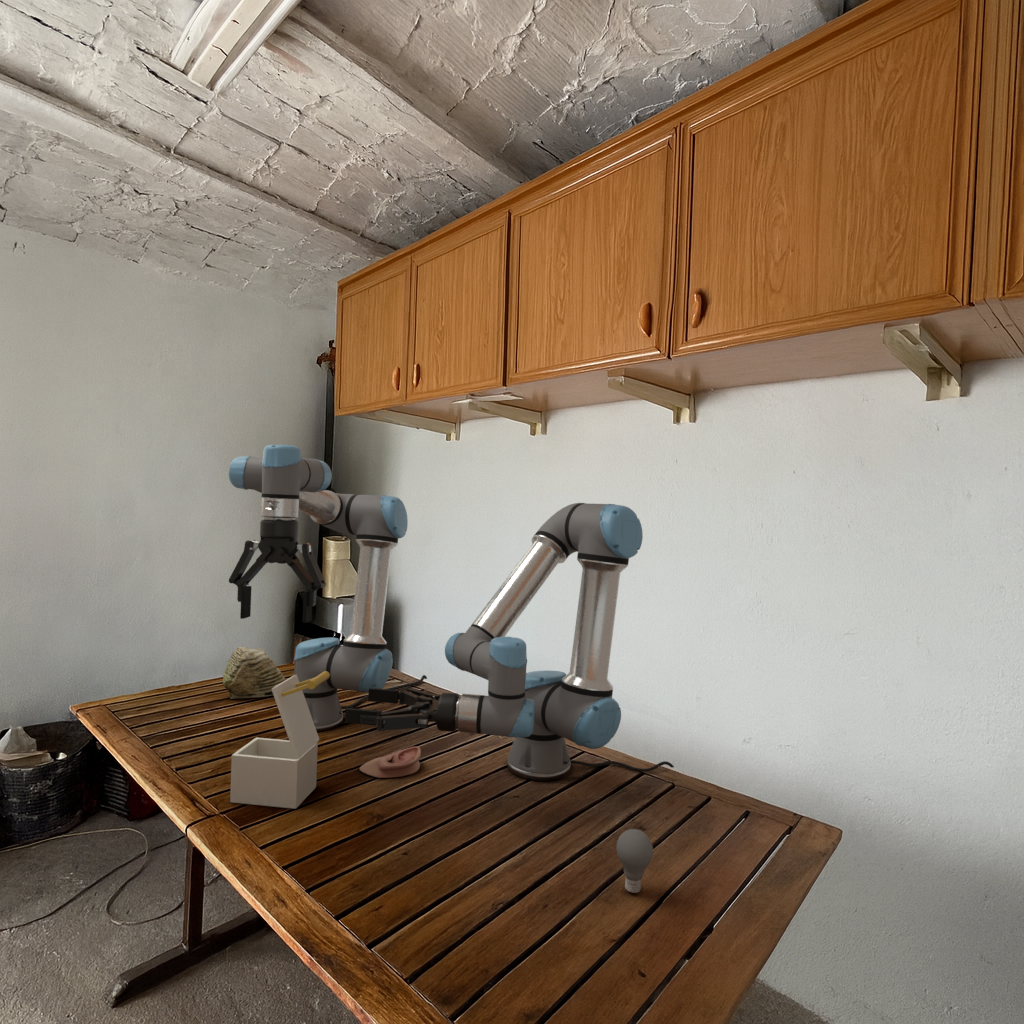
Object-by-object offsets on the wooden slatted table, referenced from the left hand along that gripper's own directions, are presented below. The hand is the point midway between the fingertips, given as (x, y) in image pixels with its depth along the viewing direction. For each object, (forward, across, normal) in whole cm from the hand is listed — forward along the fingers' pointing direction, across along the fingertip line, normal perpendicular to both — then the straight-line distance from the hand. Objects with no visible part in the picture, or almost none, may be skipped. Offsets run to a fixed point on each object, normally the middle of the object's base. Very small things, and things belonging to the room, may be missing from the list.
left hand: (275, 619), depth 133 cm
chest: (+37, +1, 0) cm, 37 cm away
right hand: (+16, +18, 0) cm, 25 cm away
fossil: (+37, -36, +61) cm, 80 cm away
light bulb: (+37, +74, -20) cm, 85 cm away
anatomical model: (+37, +21, +17) cm, 46 cm away
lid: (+20, +5, 0) cm, 21 cm away
